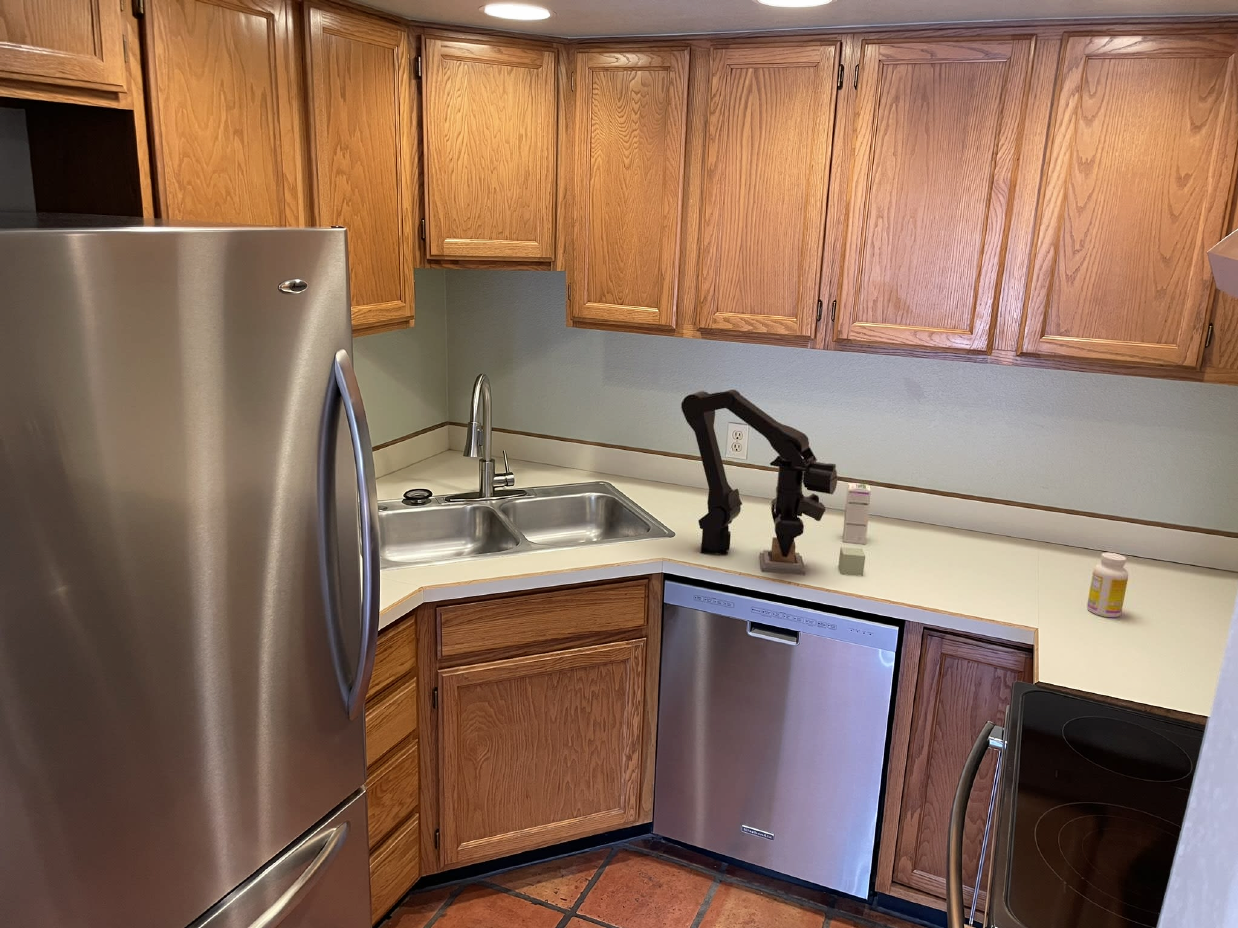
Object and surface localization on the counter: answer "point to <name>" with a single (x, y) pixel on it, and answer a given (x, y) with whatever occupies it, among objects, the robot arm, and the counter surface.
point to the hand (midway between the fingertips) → (783, 550)
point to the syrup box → (856, 513)
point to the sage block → (851, 561)
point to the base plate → (781, 564)
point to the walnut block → (777, 555)
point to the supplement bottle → (1108, 586)
